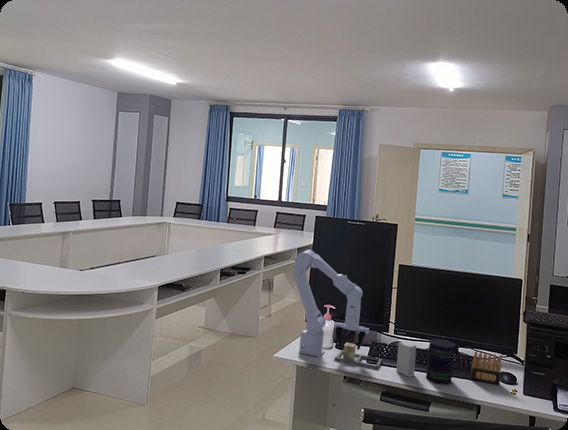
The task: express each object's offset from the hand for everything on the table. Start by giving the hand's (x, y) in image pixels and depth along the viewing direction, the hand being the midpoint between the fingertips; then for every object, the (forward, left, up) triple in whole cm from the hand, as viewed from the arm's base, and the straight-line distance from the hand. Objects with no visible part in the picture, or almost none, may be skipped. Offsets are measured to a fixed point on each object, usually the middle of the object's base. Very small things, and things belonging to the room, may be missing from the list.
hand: (349, 347), depth 218 cm
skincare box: (+24, -3, -5) cm, 25 cm away
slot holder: (+4, 0, -5) cm, 7 cm away
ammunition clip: (+54, +6, -5) cm, 54 cm away
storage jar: (+37, -2, -5) cm, 37 cm away
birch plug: (0, 0, -5) cm, 5 cm away
